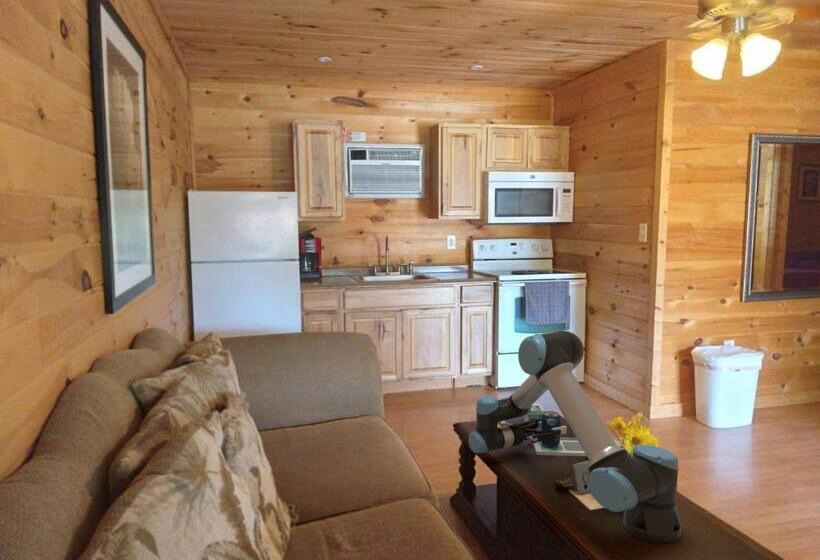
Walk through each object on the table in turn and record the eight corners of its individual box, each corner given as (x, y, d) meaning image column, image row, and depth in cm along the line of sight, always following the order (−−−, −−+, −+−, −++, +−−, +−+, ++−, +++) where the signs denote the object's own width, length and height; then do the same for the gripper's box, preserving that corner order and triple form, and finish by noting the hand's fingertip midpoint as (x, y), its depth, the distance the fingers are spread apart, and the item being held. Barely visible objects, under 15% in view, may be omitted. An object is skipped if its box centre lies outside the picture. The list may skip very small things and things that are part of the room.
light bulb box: (545, 436, 227) (545, 410, 225) (528, 436, 227) (528, 410, 225) (539, 426, 237) (540, 401, 236) (523, 426, 237) (523, 401, 236)
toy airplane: (489, 433, 230) (489, 418, 229) (509, 431, 232) (509, 416, 232) (498, 442, 221) (498, 426, 220) (519, 439, 224) (519, 424, 223)
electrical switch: (579, 495, 179) (578, 466, 179) (568, 490, 184) (567, 461, 184) (602, 489, 183) (601, 461, 183) (590, 484, 188) (589, 456, 188)
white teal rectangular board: (591, 456, 208) (591, 453, 207) (536, 454, 209) (536, 451, 209) (583, 441, 221) (583, 438, 221) (531, 439, 223) (531, 436, 223)
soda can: (557, 449, 210) (557, 418, 209) (538, 445, 213) (539, 414, 212) (561, 442, 216) (562, 412, 214) (544, 439, 219) (544, 409, 218)
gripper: (493, 436, 215) (542, 426, 225) (525, 456, 197) (576, 445, 207) (494, 417, 214) (543, 408, 224) (525, 435, 197) (577, 425, 206)
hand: (559, 426), depth 216 cm, fingers closed on soda can, 7 cm apart
